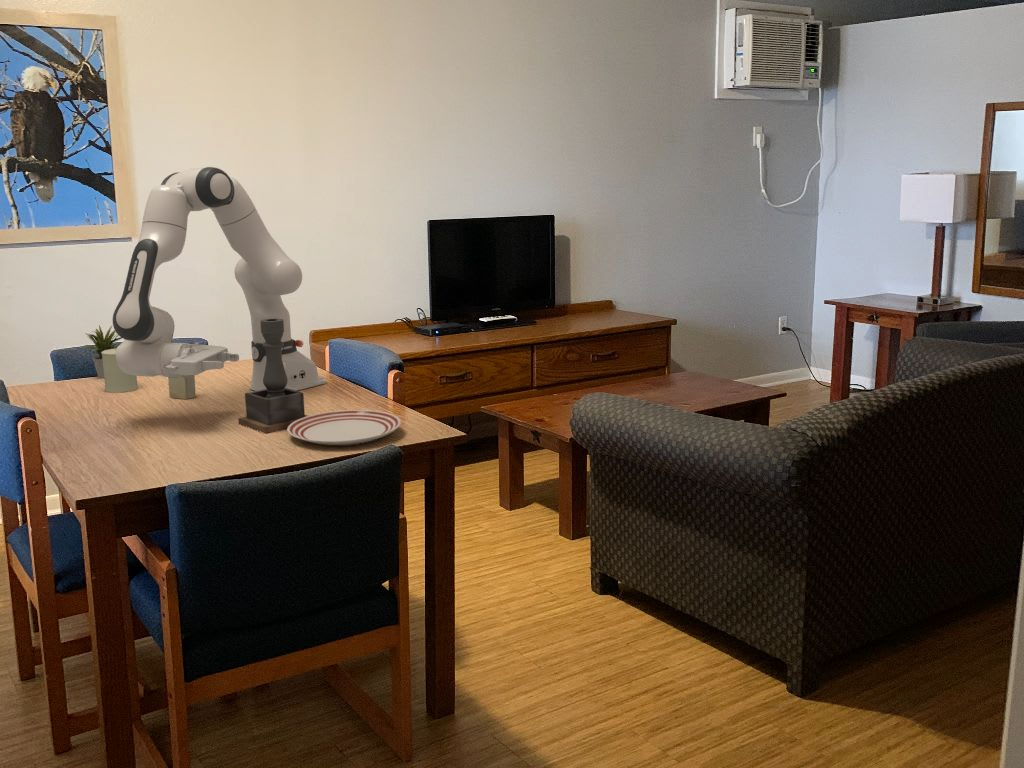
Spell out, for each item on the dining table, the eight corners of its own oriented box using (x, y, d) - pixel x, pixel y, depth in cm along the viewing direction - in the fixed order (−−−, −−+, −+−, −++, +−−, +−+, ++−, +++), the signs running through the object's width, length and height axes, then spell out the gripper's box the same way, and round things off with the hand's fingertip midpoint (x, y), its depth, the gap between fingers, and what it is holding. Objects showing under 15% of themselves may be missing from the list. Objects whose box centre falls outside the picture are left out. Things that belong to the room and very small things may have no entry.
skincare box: (169, 398, 287) (165, 356, 284) (179, 394, 291) (176, 353, 288) (186, 399, 284) (183, 357, 282) (197, 396, 288) (194, 354, 286)
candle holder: (294, 415, 260) (289, 319, 255) (277, 420, 255) (272, 322, 249) (277, 411, 263) (271, 317, 258) (259, 417, 258) (254, 320, 253)
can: (138, 384, 304) (134, 345, 301) (138, 391, 296) (134, 350, 293) (105, 387, 301) (101, 347, 298) (104, 393, 292) (100, 353, 290)
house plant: (120, 382, 308) (115, 329, 304) (75, 382, 308) (69, 329, 304) (137, 372, 322) (133, 321, 318) (94, 372, 322) (89, 322, 318)
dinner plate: (355, 458, 228) (354, 444, 228) (263, 442, 241) (263, 429, 241) (423, 429, 252) (422, 416, 251) (336, 417, 265) (336, 404, 264)
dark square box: (286, 414, 267) (284, 384, 265) (313, 422, 258) (311, 392, 256) (238, 423, 258) (236, 393, 256) (265, 433, 249) (263, 401, 247)
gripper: (158, 355, 247) (212, 356, 245) (195, 341, 267) (245, 342, 265) (160, 380, 248) (213, 382, 247) (197, 364, 268) (246, 365, 266)
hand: (230, 361), depth 256 cm, fingers open, 8 cm apart
